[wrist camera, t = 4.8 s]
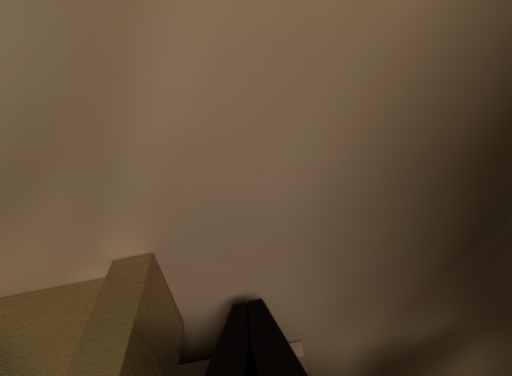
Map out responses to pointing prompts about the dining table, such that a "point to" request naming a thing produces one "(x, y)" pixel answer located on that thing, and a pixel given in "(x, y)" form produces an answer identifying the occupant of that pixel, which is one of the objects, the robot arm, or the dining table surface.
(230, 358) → the robot arm
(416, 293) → the dining table surface
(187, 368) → the brown square frame
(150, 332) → the drift key
